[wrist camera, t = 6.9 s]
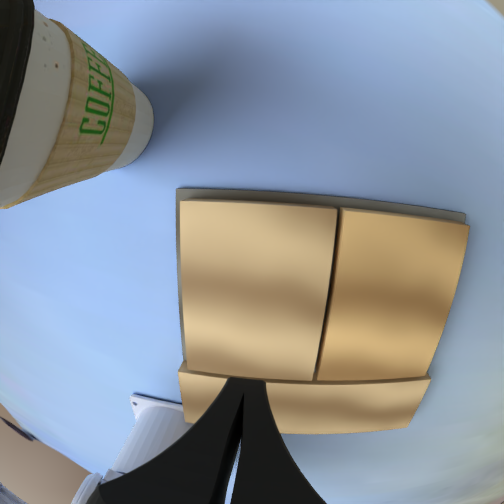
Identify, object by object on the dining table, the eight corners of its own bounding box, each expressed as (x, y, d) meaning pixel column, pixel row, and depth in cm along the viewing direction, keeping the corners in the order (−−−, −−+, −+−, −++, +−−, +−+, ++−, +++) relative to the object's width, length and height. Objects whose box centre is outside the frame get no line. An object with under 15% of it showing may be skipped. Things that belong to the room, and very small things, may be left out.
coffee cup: (201, 74, 16) (52, -66, 2) (153, 213, 19) (-43, 304, 5) (89, 58, 16) (-62, 6, 2) (53, 175, 19) (-109, 208, 4)
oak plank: (419, 365, 20) (424, 375, 19) (315, 368, 21) (317, 380, 19) (459, 221, 16) (469, 226, 15) (340, 207, 17) (345, 210, 16)
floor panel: (401, 413, 22) (407, 427, 20) (190, 407, 24) (185, 422, 22) (463, 213, 17) (477, 217, 15) (177, 188, 18) (167, 190, 16)
